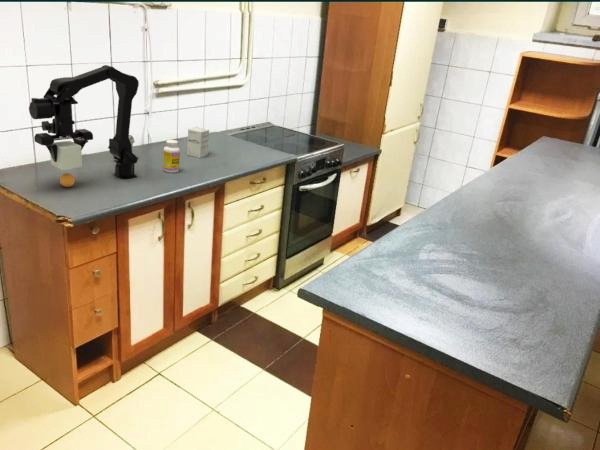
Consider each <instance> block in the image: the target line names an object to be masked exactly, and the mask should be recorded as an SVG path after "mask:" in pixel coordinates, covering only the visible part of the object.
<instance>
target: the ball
mask: <svg viewBox="0 0 600 450" xmlns="http://www.w3.org/2000/svg"><path fill="white" fill-rule="evenodd" d="M59 177H60V178H59V182H60V185H62V186H63V187H65V188H70V187H72V186H74V184H75V181H76V180H75V177H74V175H73V174H71V173H68V172H65V173H63V174H61V175H60V176H59Z"/></svg>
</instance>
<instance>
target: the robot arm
mask: <svg viewBox="0 0 600 450" xmlns="http://www.w3.org/2000/svg"><path fill="white" fill-rule="evenodd" d="M107 80H111V81H112V82H114V83H115V90H116V93H117V95H118V103H117V104H118V105H117V114H116V123H115V124H116V125H115V134H114V136H113V138H109V139H108V147H107V149H109V153H110V154H111V156H113V160H114V159H116V160H118V161H116V162H115V163H116V164H115V165H114V172H115V173H113V174H114V175H113V176H116V177H117V178H120V179H121V180H126V179H132V178H137V176H138V175H137V174H135V164H137V163H138V160H139V157H138V156H136V154H134V153H133V149H132V145H131V142H130V139H129V135H130V128H131V118H132V117H131V116H132V105H133V101H134V100H133V99H134V98H135V96H136V95H137V92H138V88H139V85H140V83H139V79H137V77H136V76H134V75H131V74H127V73H124V72H122V71H120V70H118V69H117V68H115V67H114V66H111V65H108V64H107V65H106V64H105V65H102V66H100V67H97V68H95V69H92V70H89V71H86V72H84V73H81V74H78V75H76V76H75V75H74V76H68V77H67V76H66V77H65V76H64V77H58V78H54V79H52V80H51V81H50V84H49V88H48V89H47V90H46V92H45V94H44V95H43V96H42V98H38V97H31V98H30V99H31V101H30V103H29V107H28V112H29V115H30V116H31V118H32V119H33V120H42V119H51V121H52V122H50V121H49V120H42V121H41V130H42V131H43V132H42V133H41V132H40V133H35V135H34V137H33V138H34V143H37V144H39V145H40V146H45V147H46V149H47V150H48V152H49V153H50V154H51V155H50V154H49V155H50V157H51V156H52V158H53V160H54V162H57V145H56V144H54V143H55V141H62V140H63V141H65V140H71V139H72V140H73V141H72V142H74V143H76V144H78V145H80V146H81V151H83V149H84V147H85V145H86V144H87V143H89V141H92V140H94V134H93V132H92V131H90V130H88V129H86V128H80V129H75V130H74V125H75V123H76V122H75V121H76V120H73V107H72V105H78V104H79V102H78V101H77V100H76V99H75V98H74V96H76V95H78V94H79V92H80V91H81V90H83V89H84V88H87V87H90V86H93V85H96V84H98V83H101V82H103V81H104V82H105V81H107ZM53 117H54V118H53ZM45 131H47V132H45Z"/></svg>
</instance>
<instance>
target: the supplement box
mask: <svg viewBox="0 0 600 450" xmlns="http://www.w3.org/2000/svg"><path fill="white" fill-rule="evenodd" d="M209 141H210V129H206V128H201V127H199V126H194V127H191V128H188V129H187V148H186V149H187V150H186V155H187V156H189V157H190V156H191V157H195V158H198V159H201V158H204V157H207V156H208V155H209ZM206 155H207V156H206Z"/></svg>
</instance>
